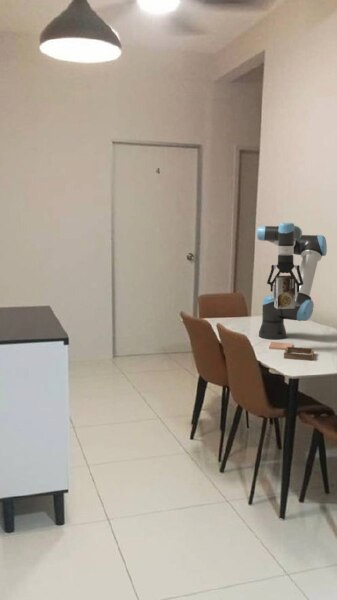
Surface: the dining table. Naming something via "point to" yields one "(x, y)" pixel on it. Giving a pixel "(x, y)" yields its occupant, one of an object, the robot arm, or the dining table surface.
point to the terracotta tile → (280, 345)
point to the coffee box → (284, 292)
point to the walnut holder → (299, 350)
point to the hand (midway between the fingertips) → (284, 298)
